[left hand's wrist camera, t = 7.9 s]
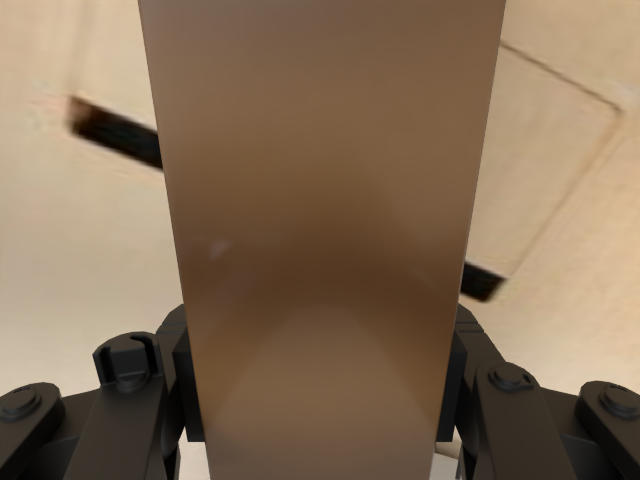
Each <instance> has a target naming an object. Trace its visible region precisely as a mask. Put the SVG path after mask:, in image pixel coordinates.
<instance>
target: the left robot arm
mask: <svg viewBox="0 0 640 480" xmlns="http://www.w3.org/2000/svg"><path fill="white" fill-rule="evenodd" d="M92 355H93V359H94V363H95V366H96V370H97V373H98V377H99V381H100V384H101V386H100V388H99V389H96V390H92V391H89V392H84V393H80V394H75V395H71V396H66V397H62V396H61V393H60V390H59V388H58V387H57V386H55V385H54V384H52V383H45V382H41V383H34V384H29V385H26V386H23V387H19V388H17V389H14V390H13V391H11V392H9V393H7V394H5V395H3V396H1V397H0V480H178V479H179V469H180V459H181V456H180V449H179V444H178V441H179V439H180V437H181V434H182V432H183V429H184V427H185V429H186V434H187V440H188V442H205V439H204V433H203V426H202V420H201V413H200V407H199V400H198V393H197V387H196V380H195V374H194V367H193V360H192V354H191V347H190V341H189V334H188V328H187V321H186V314H185V308H184V304H181V305H180V306H178V307H177V308H175V309H174V310H173V311H171V312H170V313H169V314H168V315H167V317H166V318H165V320H164V321H163V323H162V325H160V327H159V328H158V330H157V331H156V334H152V333H148V332H130V333H126V334H122V335H119V336H116V337H114V338H112V339H109V340H108V341H106V342H105V343H103V344H102V345H100V346H99V347H98V348H97V349H96V351H95V352H94V353H93V354H92ZM455 426H456V428H457V430H458V433H459V435H460V438H461V440H462V444H461V449H460V454H459V459H458V464H457V470H456V476H455V479H456V480H460V477H461V478H462V480H640V395H639V394H637V393H635V392H633V391H631V390H629V389H627V388H625V387H623V386H620V385H617V384H613V383H610V382H604V381H591V382H587V383H585V384H584V385H583V386H582V387H581V389H580V392H579V395H578V396H576V395H572V394H567V393H563V392H558V391H554V390H550V389H546V388H543V387H540V385H539V384H538V382H537V381H536V379H535V378H534V376H532V375H531V374H530V373H529V372H527V371H526V370H525V369H523V368H521V367H519V366H517V365H515V364H513V363H509V362H506V361H505V360H504V358H503V357H502V356H501V354H500V353H499V351H498V350H497V348H496V347H495V346H494V344H493V343H492V341H491V340H490V338H489V337H488V336H487V334H486V333H484V330H483V328H482V327H481V326H480V324H478V321H477V320H476V318H475V317H474V316H473V314H472V313H471V311H469V310H468V309H466V308H465V307H463V306H462V305H461V304H459V303H458V306H457V312H456V319H455V325H454V331H453V338H452V344H451V350H450V357H449V363H448V369H447V375H446V382H445V388H444V394H443V401H442V407H441V413H440V420H439V426H438V432H437V439H436V442H452V439H453V433H454V428H455Z"/></svg>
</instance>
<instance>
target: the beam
mask: <svg viewBox="0 0 640 480" xmlns="http://www.w3.org/2000/svg"><path fill="white" fill-rule="evenodd" d="M505 3H506V0H138V5H139V12H140V18H141V25H142V31H143V38H144V45H145V51H146V58H147V64H148V71H149V77H150V84H151V91H152V97H153V104H154V110H155V117H156V124H157V130H158V137H159V143H160V150H161V156H162V163H163V170H164V176H165V183H166V189H167V196H168V203H169V209H170V216H171V222H172V229H173V235H174V242H175V249H176V255H177V262H178V268H179V275H180V282H181V288H182V295H183V301H184V308H185V314H186V321H187V328H188V334H189V341H190V347H191V354H192V360H193V367H194V374H195V380H196V387H197V393H198V400H199V407H200V413H201V420H202V426H203V433H204V439H205V446H206V453H207V459H208V466H209V472H210V479H211V480H430V476H431V470H432V464H433V458H434V451H435V445H436V439H437V432H438V426H439V420H440V413H441V407H442V401H443V394H444V388H445V382H446V375H447V369H448V363H449V357H450V350H451V344H452V338H453V331H454V325H455V319H456V312H457V306H458V300H459V293H460V287H461V281H462V274H463V268H464V262H465V256H466V249H467V243H468V237H469V230H470V224H471V218H472V211H473V205H474V199H475V192H476V186H477V180H478V173H479V167H480V161H481V155H482V148H483V142H484V136H485V129H486V123H487V117H488V110H489V104H490V98H491V91H492V85H493V79H494V72H495V66H496V60H497V54H498V47H499V41H500V35H501V28H502V22H503V16H504V9H505Z"/></svg>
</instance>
